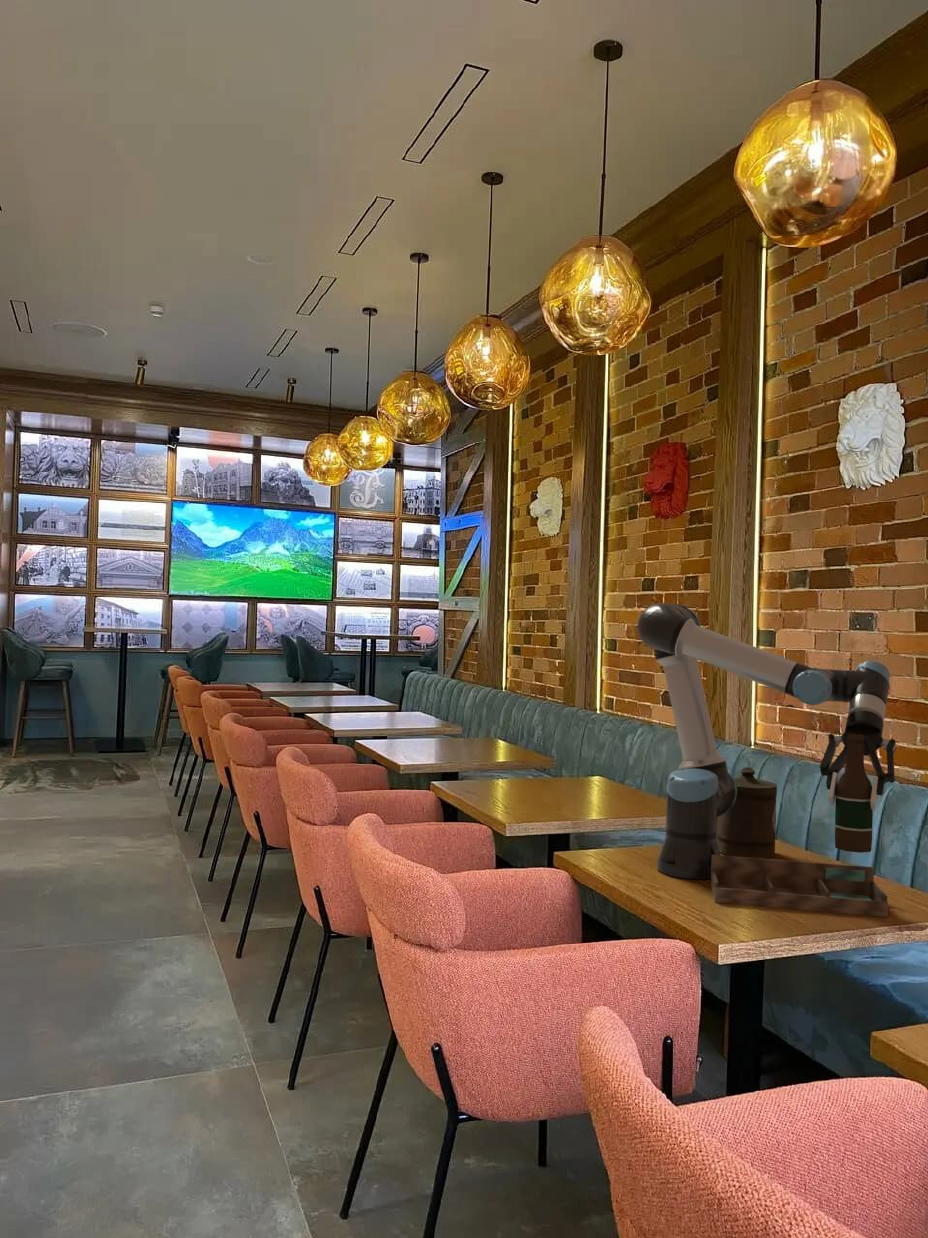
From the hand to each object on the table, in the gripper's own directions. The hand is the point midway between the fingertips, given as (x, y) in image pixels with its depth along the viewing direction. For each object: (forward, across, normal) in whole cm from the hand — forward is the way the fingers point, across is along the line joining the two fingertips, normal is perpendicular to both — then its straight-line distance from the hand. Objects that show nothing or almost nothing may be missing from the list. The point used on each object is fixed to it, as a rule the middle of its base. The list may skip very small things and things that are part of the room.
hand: (851, 803), depth 194 cm
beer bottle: (+5, 0, -10) cm, 11 cm away
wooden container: (-11, +31, -43) cm, 54 cm away
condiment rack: (+16, +11, -15) cm, 25 cm away
